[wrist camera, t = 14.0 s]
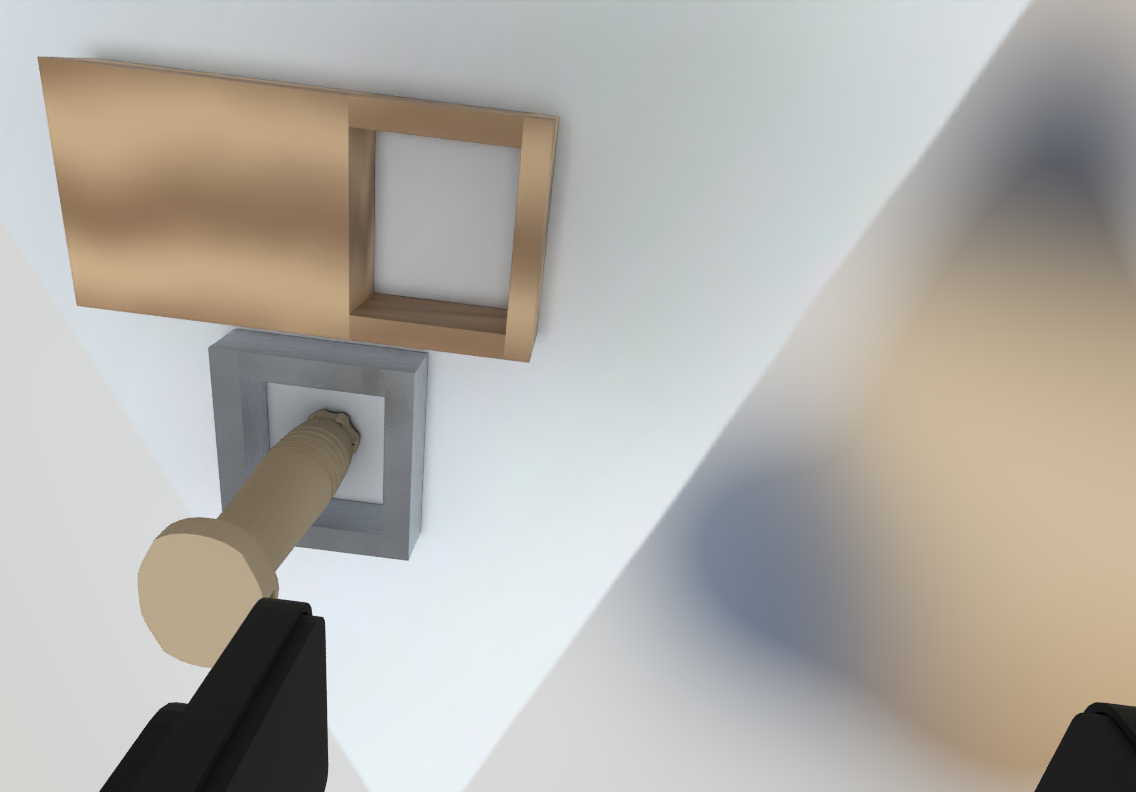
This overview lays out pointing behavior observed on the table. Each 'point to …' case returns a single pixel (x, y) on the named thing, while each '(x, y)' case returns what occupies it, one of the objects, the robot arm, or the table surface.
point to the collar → (339, 367)
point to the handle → (241, 542)
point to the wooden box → (268, 203)
